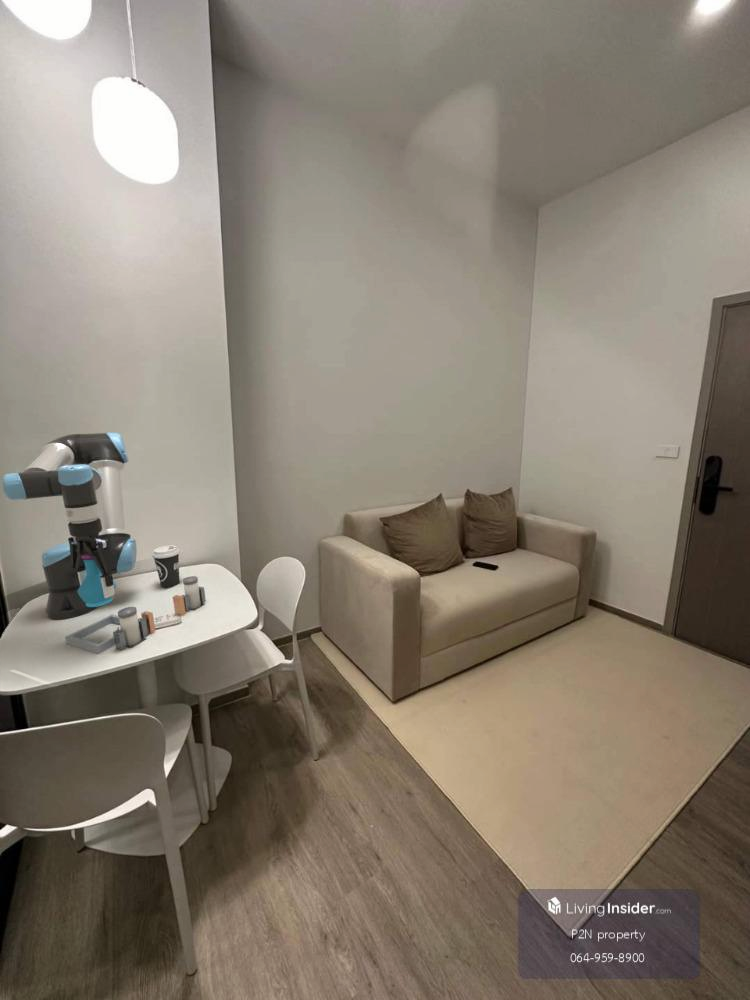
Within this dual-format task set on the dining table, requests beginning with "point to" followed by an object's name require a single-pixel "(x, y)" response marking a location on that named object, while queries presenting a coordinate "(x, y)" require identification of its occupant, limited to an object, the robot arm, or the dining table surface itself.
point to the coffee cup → (167, 565)
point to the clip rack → (148, 621)
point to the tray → (87, 645)
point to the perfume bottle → (92, 584)
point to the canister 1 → (130, 625)
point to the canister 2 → (192, 591)
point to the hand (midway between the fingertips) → (98, 593)
